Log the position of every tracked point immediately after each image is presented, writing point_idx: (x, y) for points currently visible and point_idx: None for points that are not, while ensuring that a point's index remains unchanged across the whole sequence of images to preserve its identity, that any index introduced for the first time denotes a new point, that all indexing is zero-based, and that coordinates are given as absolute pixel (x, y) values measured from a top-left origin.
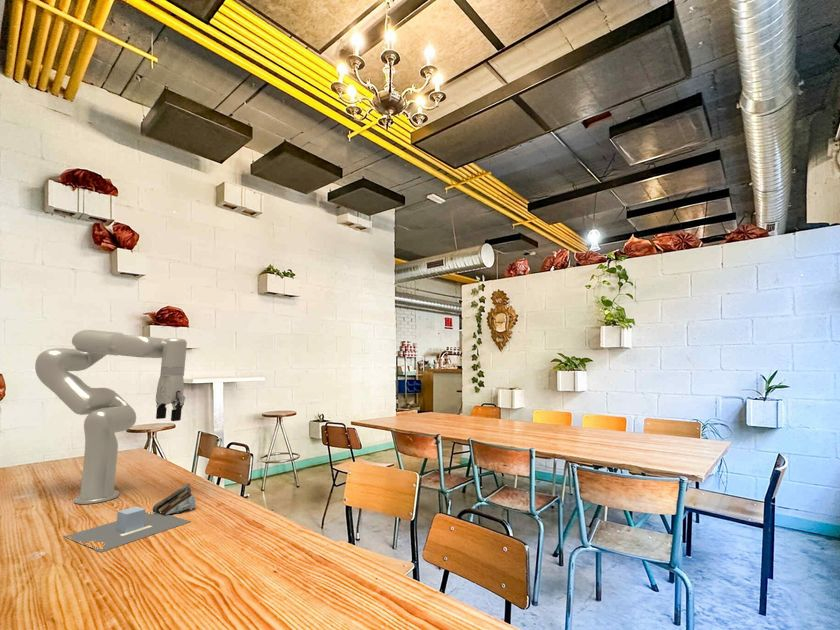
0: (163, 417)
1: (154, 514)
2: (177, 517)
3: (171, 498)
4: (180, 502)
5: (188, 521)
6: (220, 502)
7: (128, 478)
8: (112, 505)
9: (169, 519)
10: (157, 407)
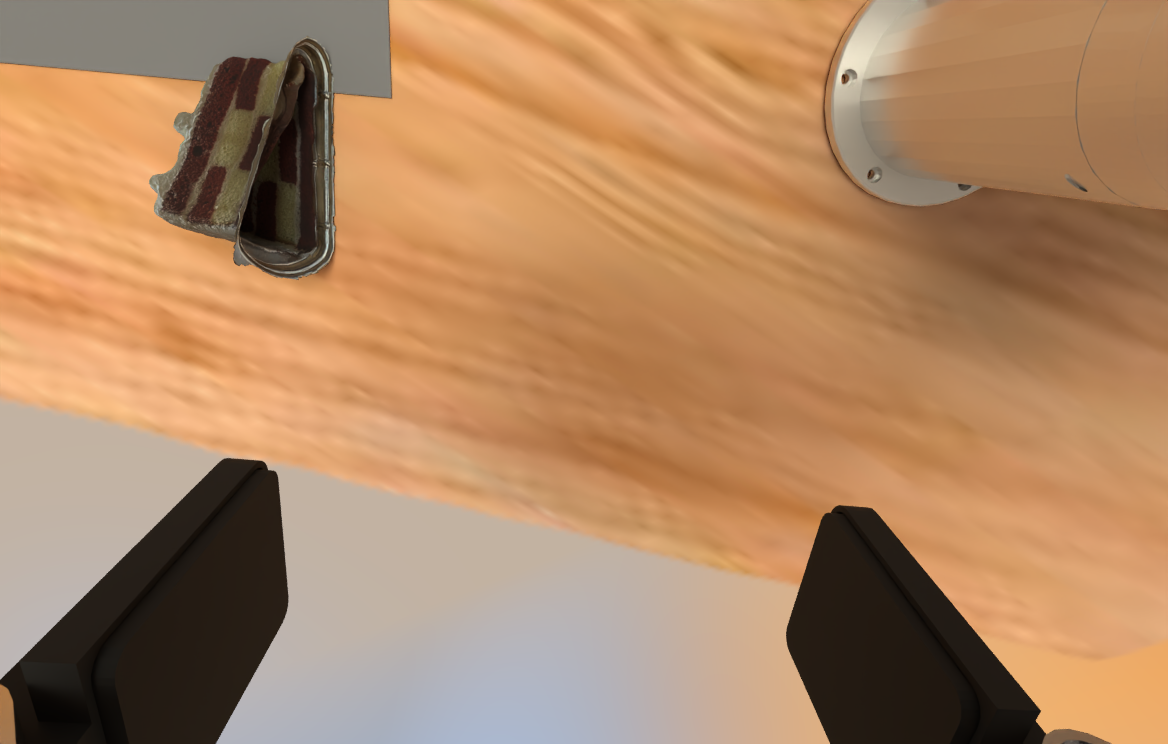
0: (799, 615)
1: None
2: (134, 73)
3: (270, 141)
4: (192, 145)
5: (3, 52)
6: (212, 361)
7: (1108, 422)
8: (716, 49)
9: (136, 25)
10: (1052, 737)
